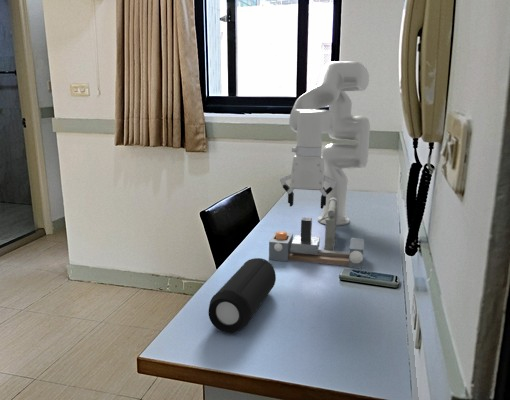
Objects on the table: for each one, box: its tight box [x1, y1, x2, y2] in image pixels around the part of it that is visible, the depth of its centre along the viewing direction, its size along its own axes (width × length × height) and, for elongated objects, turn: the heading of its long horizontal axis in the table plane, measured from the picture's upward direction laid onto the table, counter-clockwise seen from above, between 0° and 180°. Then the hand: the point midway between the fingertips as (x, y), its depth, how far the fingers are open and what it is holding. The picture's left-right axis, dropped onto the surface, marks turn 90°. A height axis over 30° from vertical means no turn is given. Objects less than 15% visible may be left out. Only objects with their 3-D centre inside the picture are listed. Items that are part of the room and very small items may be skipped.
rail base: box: [288, 248, 350, 267], centre depth 149 cm, size 8×29×2 cm, turn 77°
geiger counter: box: [318, 197, 340, 251], centre depth 166 cm, size 14×6×25 cm
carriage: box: [291, 217, 321, 254], centre depth 148 cm, size 8×8×10 cm
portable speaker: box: [207, 257, 277, 334], centre depth 114 cm, size 26×10×10 cm, turn 161°
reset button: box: [275, 230, 288, 240], centre depth 150 cm, size 4×4×4 cm
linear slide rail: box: [268, 231, 365, 269], centre depth 148 cm, size 10×29×6 cm, turn 77°
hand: (306, 206), depth 145 cm, fingers open, 9 cm apart
